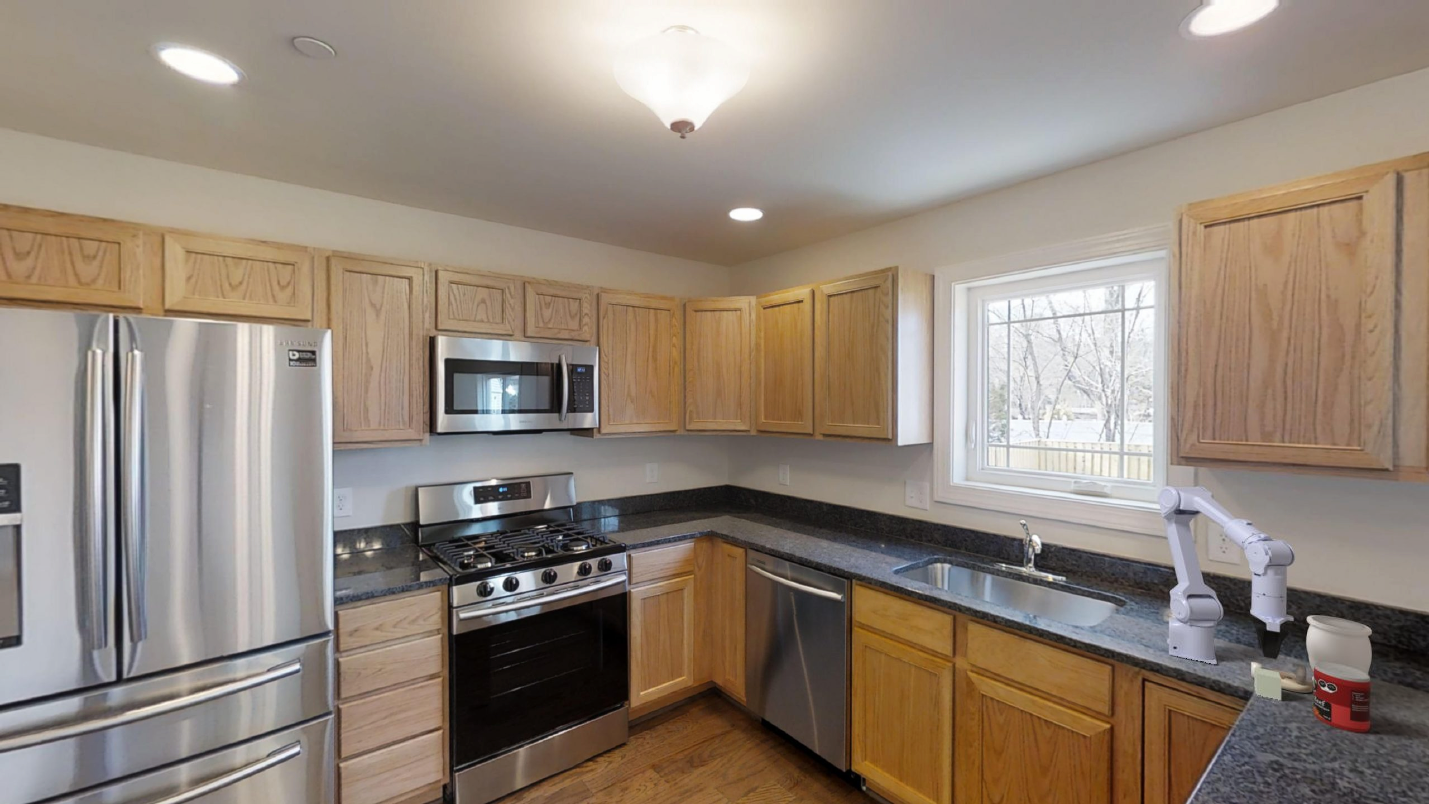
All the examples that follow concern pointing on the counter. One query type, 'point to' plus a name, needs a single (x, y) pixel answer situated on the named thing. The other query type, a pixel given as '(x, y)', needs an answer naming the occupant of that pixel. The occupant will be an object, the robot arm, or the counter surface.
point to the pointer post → (1253, 665)
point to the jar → (1338, 642)
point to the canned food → (1341, 696)
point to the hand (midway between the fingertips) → (1268, 653)
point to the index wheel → (1295, 680)
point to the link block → (1267, 683)
